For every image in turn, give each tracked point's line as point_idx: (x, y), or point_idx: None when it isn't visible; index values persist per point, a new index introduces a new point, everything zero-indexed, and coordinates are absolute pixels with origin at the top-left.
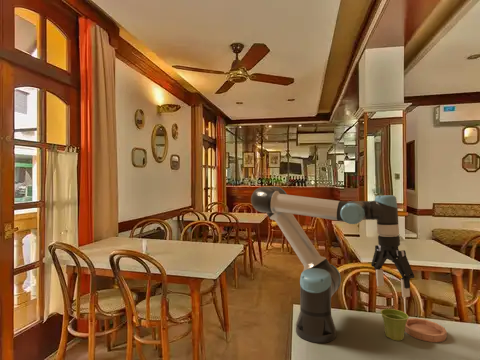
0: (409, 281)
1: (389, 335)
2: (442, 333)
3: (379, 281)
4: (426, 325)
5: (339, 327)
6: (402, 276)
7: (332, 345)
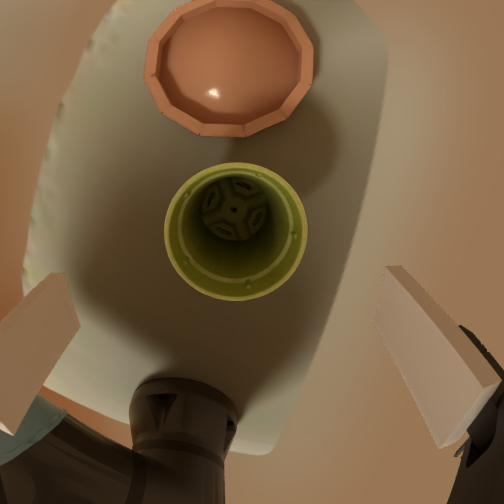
0: (500, 373)
1: (247, 243)
2: (301, 37)
3: (56, 337)
4: (193, 25)
5: (150, 352)
6: (471, 460)
7: (250, 404)
